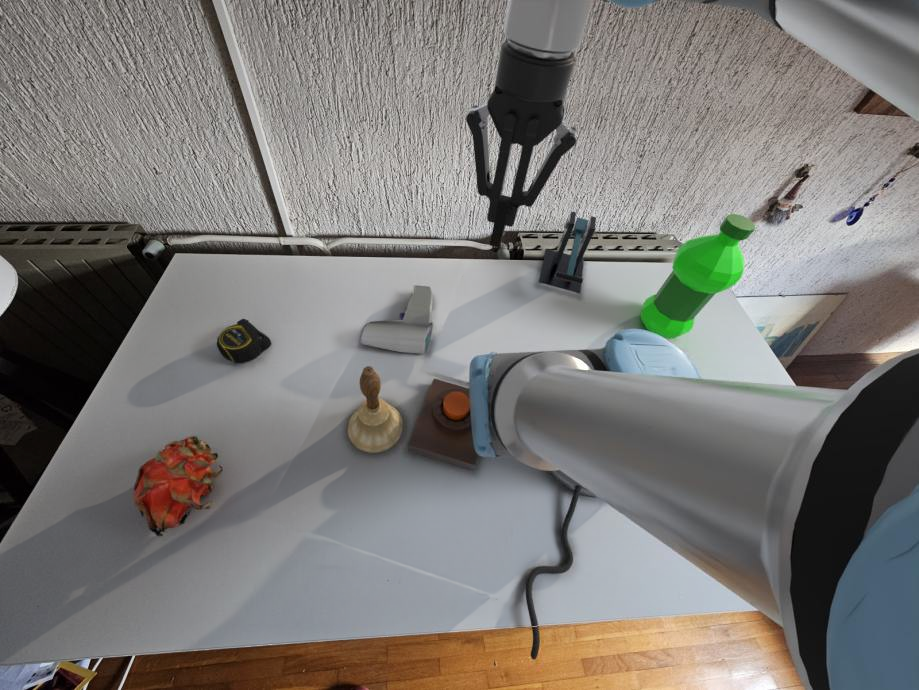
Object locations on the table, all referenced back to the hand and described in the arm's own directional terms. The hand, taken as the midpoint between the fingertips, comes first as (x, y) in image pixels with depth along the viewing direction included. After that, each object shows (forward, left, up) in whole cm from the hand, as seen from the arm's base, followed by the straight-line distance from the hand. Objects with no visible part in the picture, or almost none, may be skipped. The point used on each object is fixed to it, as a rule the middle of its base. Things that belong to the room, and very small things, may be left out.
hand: (496, 240), depth 56 cm
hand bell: (-24, +10, -21) cm, 34 cm away
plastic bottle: (+14, -35, -21) cm, 43 cm away
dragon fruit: (-40, +29, -21) cm, 54 cm away
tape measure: (-17, +36, -21) cm, 45 cm away
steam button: (-19, -1, -17) cm, 26 cm away
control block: (-20, -1, -21) cm, 29 cm away
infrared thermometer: (-3, +14, -21) cm, 25 cm away
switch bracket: (+23, -14, -21) cm, 34 cm away
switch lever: (+18, -14, -11) cm, 25 cm away
